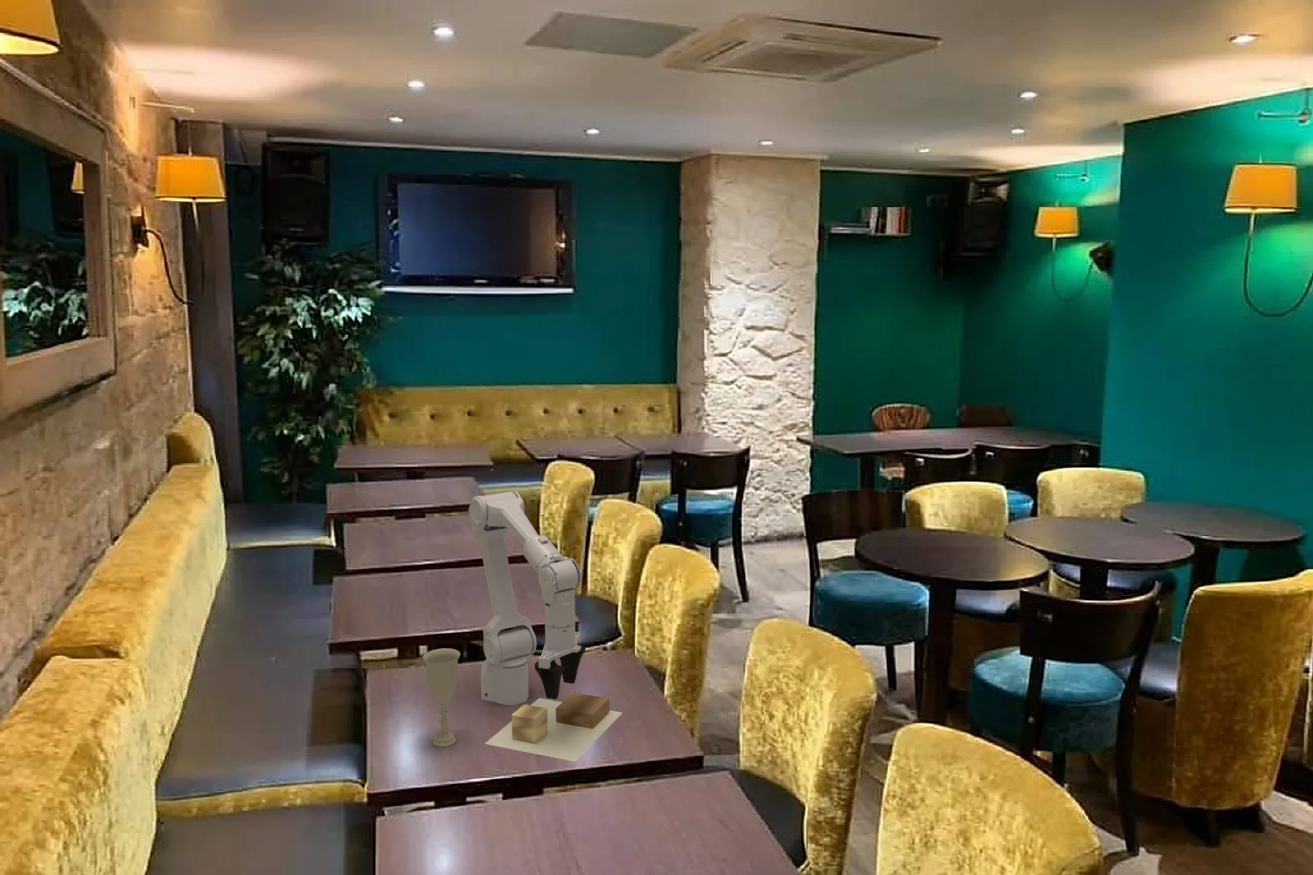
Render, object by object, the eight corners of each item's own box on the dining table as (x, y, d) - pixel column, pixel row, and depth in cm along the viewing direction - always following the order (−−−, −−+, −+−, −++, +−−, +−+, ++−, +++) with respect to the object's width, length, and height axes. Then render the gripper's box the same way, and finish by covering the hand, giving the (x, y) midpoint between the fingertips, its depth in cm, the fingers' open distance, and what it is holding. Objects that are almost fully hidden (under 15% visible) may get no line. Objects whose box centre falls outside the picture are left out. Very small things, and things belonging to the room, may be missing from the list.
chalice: (453, 756, 186) (450, 664, 183) (419, 752, 188) (416, 661, 185) (468, 738, 193) (466, 649, 190) (435, 735, 195) (432, 647, 192)
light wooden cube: (512, 739, 191) (511, 714, 190) (524, 728, 196) (524, 704, 195) (535, 743, 190) (535, 719, 189) (547, 732, 194) (547, 708, 193)
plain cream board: (484, 748, 190) (484, 743, 189) (539, 701, 210) (539, 697, 210) (575, 766, 183) (575, 761, 183) (622, 716, 203) (622, 712, 203)
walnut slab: (556, 722, 198) (555, 708, 198) (573, 706, 206) (573, 692, 205) (592, 729, 196) (592, 714, 195) (609, 712, 203) (609, 698, 202)
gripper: (562, 638, 183) (563, 708, 185) (594, 613, 197) (595, 678, 199) (528, 633, 186) (529, 702, 188) (562, 609, 199) (562, 673, 201)
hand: (560, 690), depth 193 cm, fingers open, 7 cm apart
